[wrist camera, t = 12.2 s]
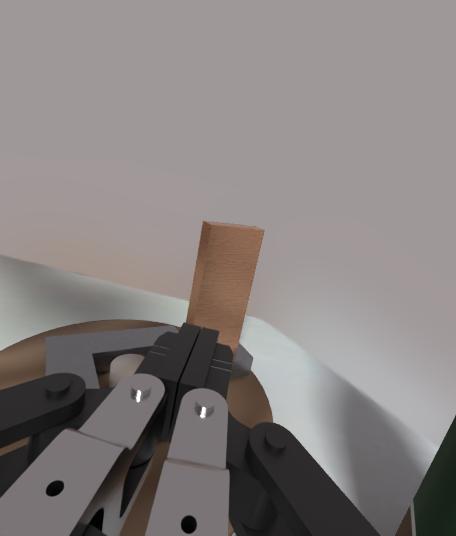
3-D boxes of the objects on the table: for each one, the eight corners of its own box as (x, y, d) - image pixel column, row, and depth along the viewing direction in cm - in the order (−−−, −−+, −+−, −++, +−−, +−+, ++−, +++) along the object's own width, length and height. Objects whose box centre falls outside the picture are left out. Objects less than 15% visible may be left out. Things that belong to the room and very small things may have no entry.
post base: (-120, 393, 21) (-131, 325, 20) (149, 313, 40) (154, 275, 39) (13, 853, 8) (10, 761, 7) (315, 416, 28) (332, 366, 26)
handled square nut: (45, 477, 16) (51, 229, 12) (45, 357, 25) (48, 192, 22) (276, 406, 25) (322, 248, 21) (214, 336, 34) (238, 216, 30)
